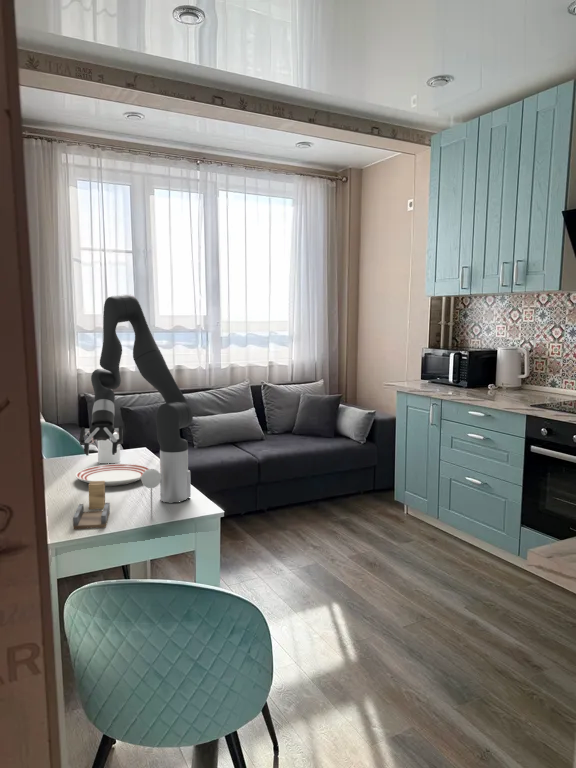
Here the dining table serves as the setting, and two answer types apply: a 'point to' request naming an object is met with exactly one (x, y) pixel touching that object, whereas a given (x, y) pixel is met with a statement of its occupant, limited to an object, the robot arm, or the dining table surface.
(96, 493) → the oak block
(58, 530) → the dining table surface
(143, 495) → the dining table surface
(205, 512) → the dining table surface
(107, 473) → the dinner plate
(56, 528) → the dining table surface
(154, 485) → the lollipop
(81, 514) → the walnut track
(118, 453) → the base with upright slab
